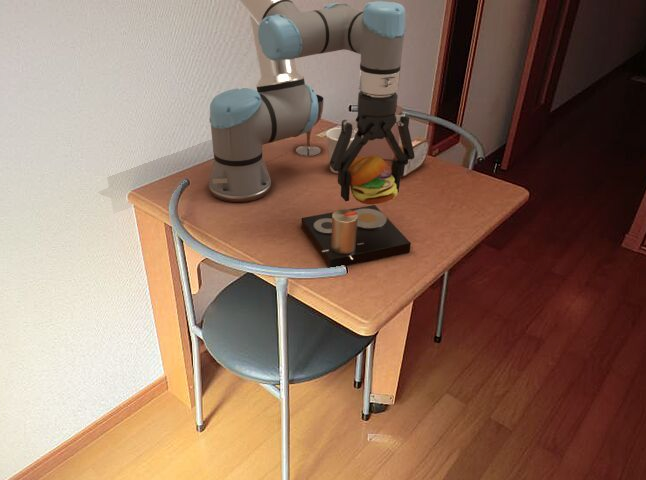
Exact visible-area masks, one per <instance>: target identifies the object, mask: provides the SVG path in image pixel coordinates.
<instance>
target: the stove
mask: <svg viewBox="0 0 646 480" xmlns="http://www.w3.org/2000/svg"><path fill="white" fill-rule="evenodd" d="M358 209H374V210H377V211H380V212H382V210H380V208H379V207H378V206H377V205H376V204H373V205H371V204H370V205H365V206H361V207H355V208H349V209H348V210H351V211H355V210H358ZM334 212H335V211H333V212H326V213H321V214H315V215H311V216H310V215H309V216H304V217H301V223H300V224H301V227H300V228H301V229H302V230H303V232H304V233H305V235H306V237H307V238H308V239H309V241H310V242H311V244H312V245H313V246H314V248H315V249H316V251H317V252H318V254H319V255H320V257H321V258H322V259H323V261H324V263H325V264H326V265H327V267H328V268H329V267H336V266H341V265H345V266H344V267H348V266H353V265H358V264H362V263H367V262H373V261H377V260H381V259H387V258H390V257H391V258H392V257H395V256H400V255H405V254H409V253H410V252H411V242H410V240H409V239H408V238H407V237H406V236H405V235H404V234H403V233H402V232H401V231H400V230H399V229H398V228H397V226H396V225H395V224H393V223H392V221H391V220H390V219H389V218H388V217H387V216H386V218H387V221H386V224H385V225H384V226H383V227H381V228H378V229H371V230H368V229H361V228H358V227H357V234H356V248H355V251H354V252H352V253H350V254H338V253H336V252H334V251H333V250H332V249H331V234H322V233H319V232H317V231H316V230H315V229H314V223H315V222H316V221H317V220H320V219H324V218H330V219H332V214H333V213H334Z"/></svg>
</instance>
